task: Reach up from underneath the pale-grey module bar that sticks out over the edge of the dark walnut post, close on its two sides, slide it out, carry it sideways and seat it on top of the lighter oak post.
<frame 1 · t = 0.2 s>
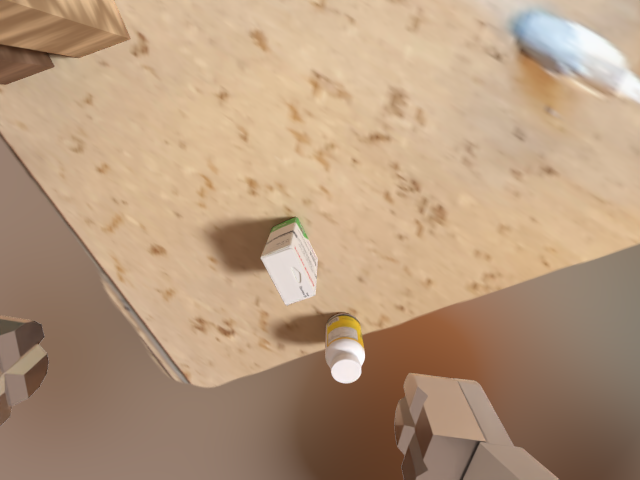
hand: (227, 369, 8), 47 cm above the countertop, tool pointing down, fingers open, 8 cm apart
ink box: (295, 243, 58), on the countertop
pill bottle: (342, 325, 64), on the countertop
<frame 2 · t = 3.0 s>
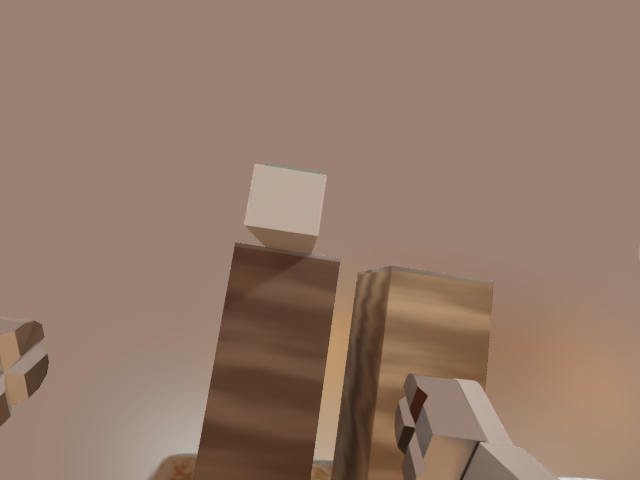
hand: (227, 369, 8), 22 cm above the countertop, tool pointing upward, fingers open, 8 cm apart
module bar: (289, 253, 29), point 26 cm above the countertop, touching walnut post
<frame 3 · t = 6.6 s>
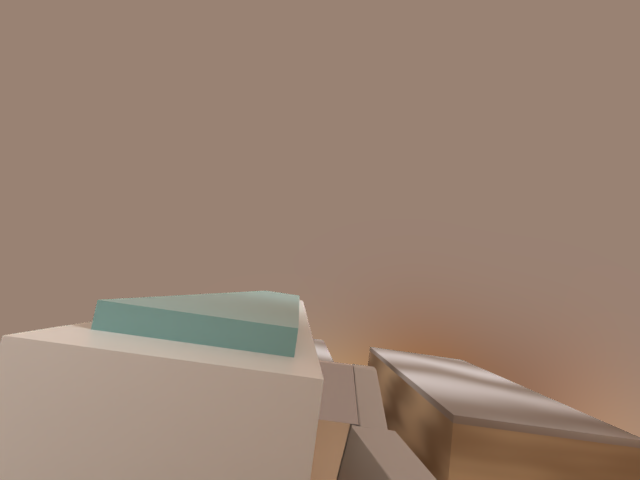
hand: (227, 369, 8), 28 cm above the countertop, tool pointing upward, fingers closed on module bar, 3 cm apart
module bar: (258, 369, 16), point 26 cm above the countertop, touching gripper, walnut post
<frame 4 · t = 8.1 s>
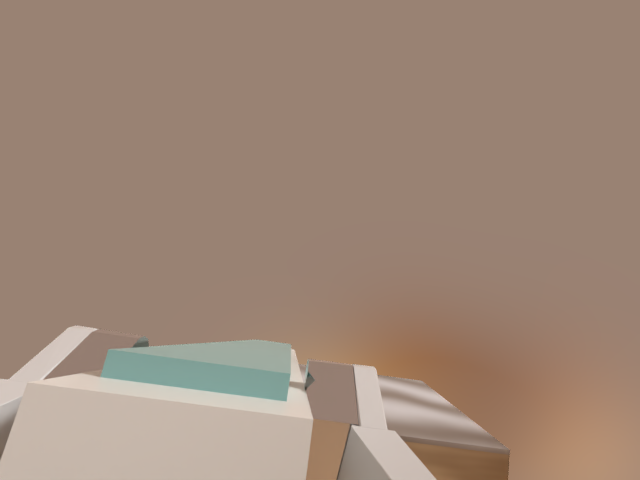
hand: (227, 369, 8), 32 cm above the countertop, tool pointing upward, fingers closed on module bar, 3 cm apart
module bar: (249, 421, 16), point 28 cm above the countertop, tilted 8°, touching gripper
when the fingers open (30 cm above the countertop, at t = 11.8 s): module bar stays where it is, resting on oak post.
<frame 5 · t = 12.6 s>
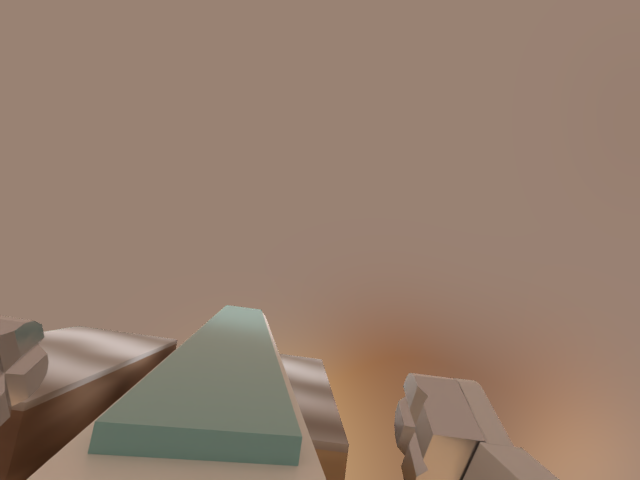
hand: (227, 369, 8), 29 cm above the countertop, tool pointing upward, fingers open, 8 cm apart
module bar: (225, 400, 16), point 26 cm above the countertop, touching oak post
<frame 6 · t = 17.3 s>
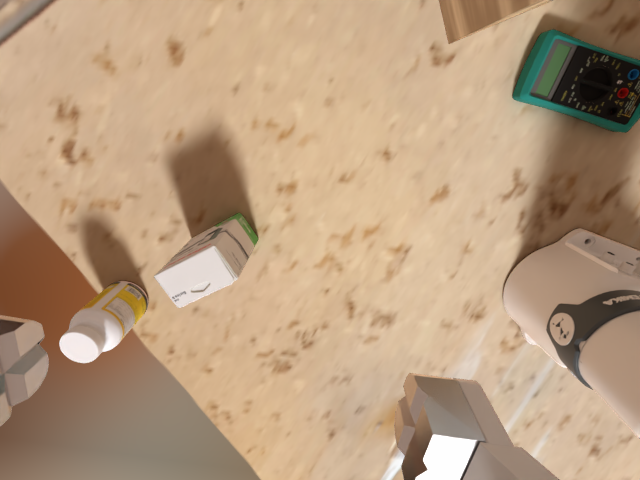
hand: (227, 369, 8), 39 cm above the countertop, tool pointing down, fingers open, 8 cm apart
digital multimeter: (576, 84, 41), on the countertop
ink box: (225, 238, 49), on the countertop
pill bottle: (129, 297, 53), on the countertop
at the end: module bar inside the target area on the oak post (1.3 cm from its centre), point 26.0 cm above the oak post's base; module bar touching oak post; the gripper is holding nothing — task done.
